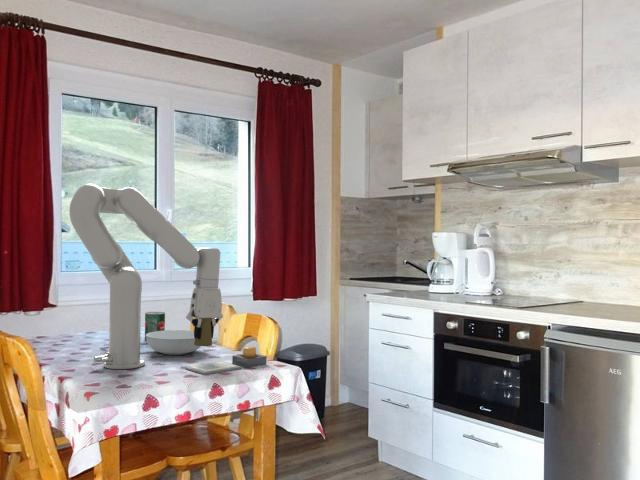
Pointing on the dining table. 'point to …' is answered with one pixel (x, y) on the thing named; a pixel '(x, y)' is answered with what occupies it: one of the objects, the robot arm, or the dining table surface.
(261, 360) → the button housing
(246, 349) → the button
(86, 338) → the dining table surface
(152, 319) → the canned tomato
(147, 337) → the serving bowl
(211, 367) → the board
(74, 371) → the dining table surface
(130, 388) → the dining table surface
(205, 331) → the cork
